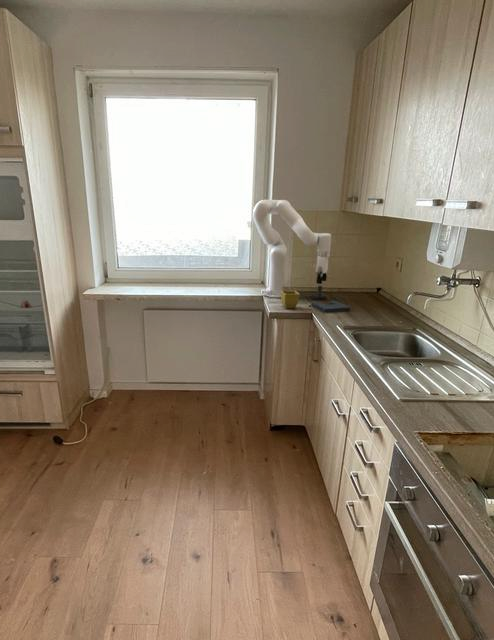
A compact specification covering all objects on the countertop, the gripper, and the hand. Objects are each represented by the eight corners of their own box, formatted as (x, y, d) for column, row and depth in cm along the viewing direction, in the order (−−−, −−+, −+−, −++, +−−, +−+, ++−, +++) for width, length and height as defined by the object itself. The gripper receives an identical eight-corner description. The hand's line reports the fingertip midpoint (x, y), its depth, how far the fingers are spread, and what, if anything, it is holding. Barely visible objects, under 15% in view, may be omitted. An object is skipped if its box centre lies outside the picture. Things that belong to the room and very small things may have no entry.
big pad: (324, 312, 234) (325, 309, 233) (311, 305, 248) (311, 302, 247) (349, 310, 238) (350, 307, 237) (335, 303, 252) (335, 300, 252)
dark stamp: (316, 300, 261) (318, 287, 258) (312, 297, 267) (313, 285, 264) (325, 299, 263) (327, 286, 260) (321, 297, 268) (322, 284, 266)
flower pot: (293, 305, 248) (295, 290, 245) (298, 309, 240) (299, 293, 237) (279, 305, 247) (280, 290, 243) (284, 309, 239) (285, 294, 235)
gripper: (321, 252, 263) (319, 279, 270) (313, 255, 249) (311, 284, 255) (333, 253, 260) (331, 280, 266) (325, 256, 246) (323, 285, 252)
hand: (321, 282), depth 261 cm, fingers open, 9 cm apart
